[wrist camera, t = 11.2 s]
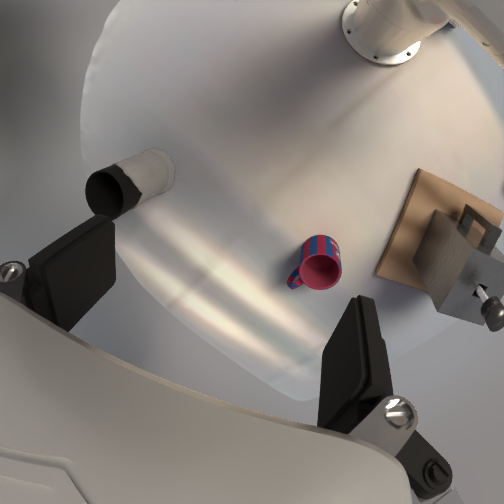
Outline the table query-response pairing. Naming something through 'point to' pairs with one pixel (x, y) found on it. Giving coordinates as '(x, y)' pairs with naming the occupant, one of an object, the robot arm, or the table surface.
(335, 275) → the mug
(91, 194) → the grey and black pitcher
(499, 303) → the plunger
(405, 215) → the board
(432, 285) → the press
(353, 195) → the table surface
